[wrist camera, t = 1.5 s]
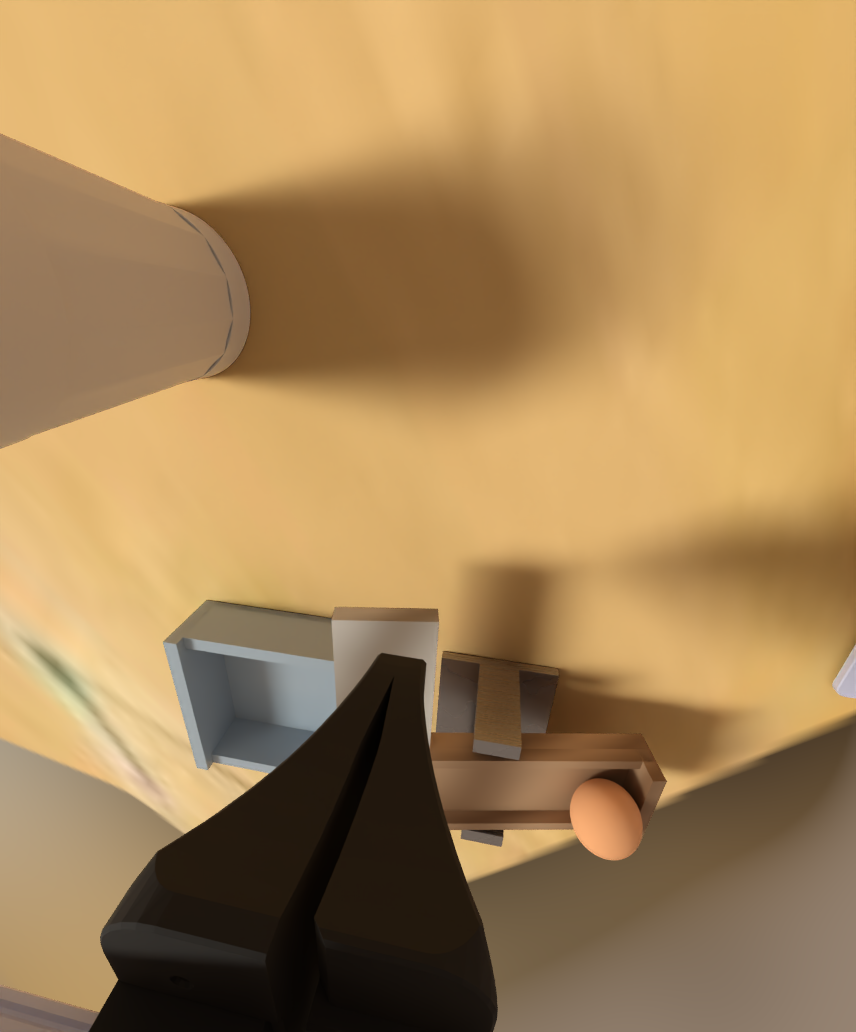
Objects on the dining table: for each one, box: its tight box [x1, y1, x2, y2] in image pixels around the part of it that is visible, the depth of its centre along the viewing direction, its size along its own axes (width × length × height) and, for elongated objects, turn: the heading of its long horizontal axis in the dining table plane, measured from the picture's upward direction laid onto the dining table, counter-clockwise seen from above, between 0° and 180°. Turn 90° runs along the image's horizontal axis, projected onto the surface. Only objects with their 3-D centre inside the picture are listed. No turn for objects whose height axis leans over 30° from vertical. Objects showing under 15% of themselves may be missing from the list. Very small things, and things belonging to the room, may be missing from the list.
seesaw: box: [331, 607, 667, 850], centre depth 19 cm, size 14×12×2 cm
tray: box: [163, 600, 337, 773], centre depth 25 cm, size 9×9×4 cm
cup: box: [0, 134, 250, 449], centre depth 13 cm, size 8×8×12 cm
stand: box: [436, 651, 559, 847], centre depth 22 cm, size 6×7×5 cm
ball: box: [570, 778, 643, 860], centre depth 20 cm, size 3×3×3 cm
